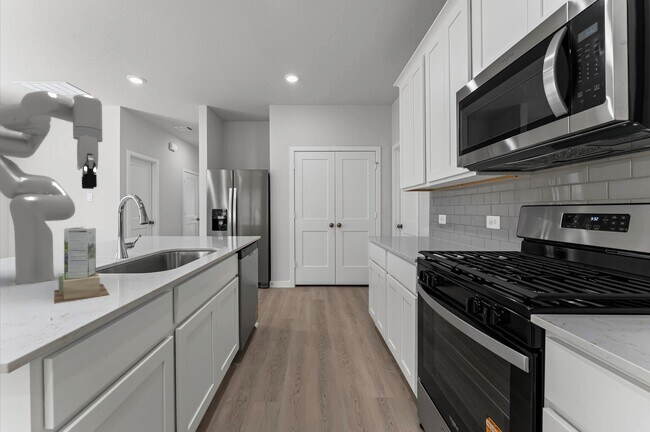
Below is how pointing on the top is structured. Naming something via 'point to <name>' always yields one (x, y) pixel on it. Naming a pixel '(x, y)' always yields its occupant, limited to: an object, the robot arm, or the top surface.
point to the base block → (81, 287)
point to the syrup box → (79, 252)
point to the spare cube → (60, 282)
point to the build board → (60, 298)
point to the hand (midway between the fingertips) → (89, 187)
